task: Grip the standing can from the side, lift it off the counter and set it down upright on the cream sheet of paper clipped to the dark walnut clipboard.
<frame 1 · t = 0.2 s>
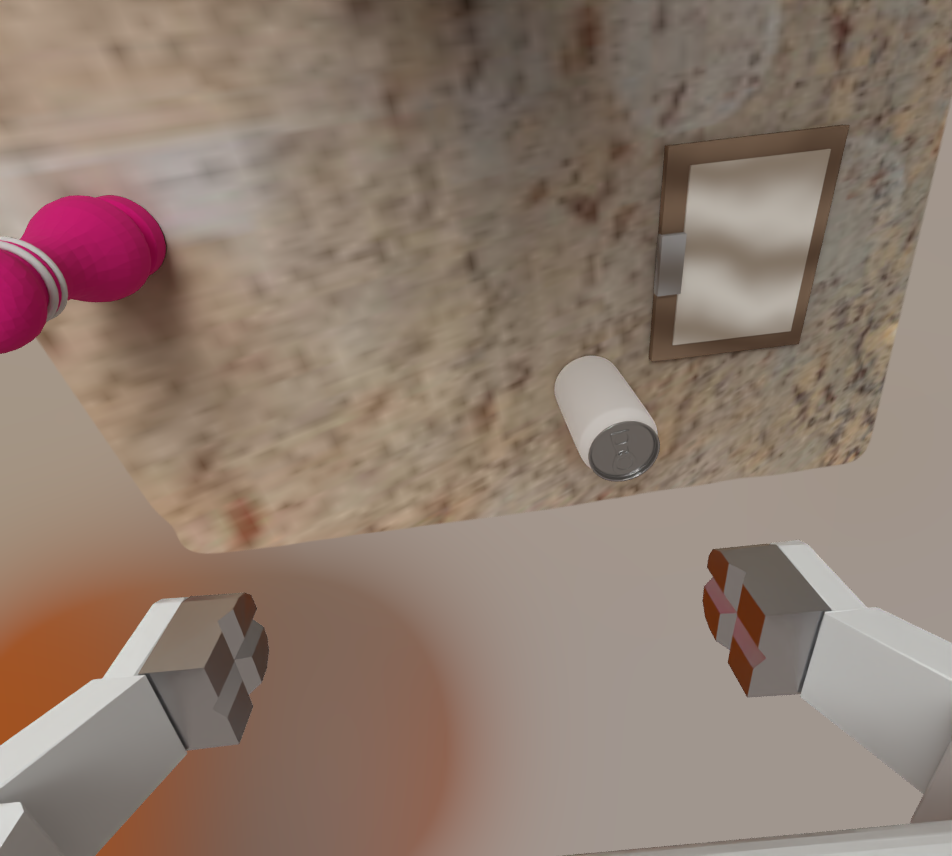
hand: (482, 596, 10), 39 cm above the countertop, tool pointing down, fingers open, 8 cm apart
can: (585, 383, 52), on the countertop
pepper mill: (125, 237, 42), on the countertop
clipboard: (736, 253, 46), on the countertop
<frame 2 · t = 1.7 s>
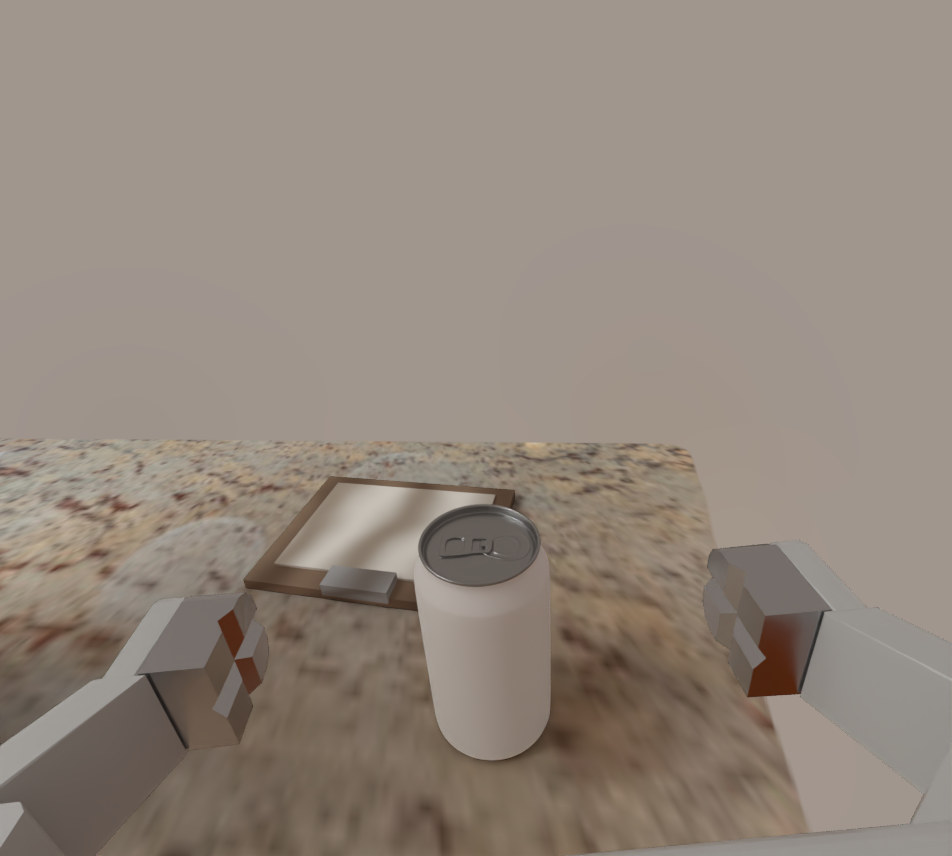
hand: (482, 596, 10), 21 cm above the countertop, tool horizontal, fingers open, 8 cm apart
can: (492, 709, 30), on the countertop
clipboard: (392, 538, 43), on the countertop
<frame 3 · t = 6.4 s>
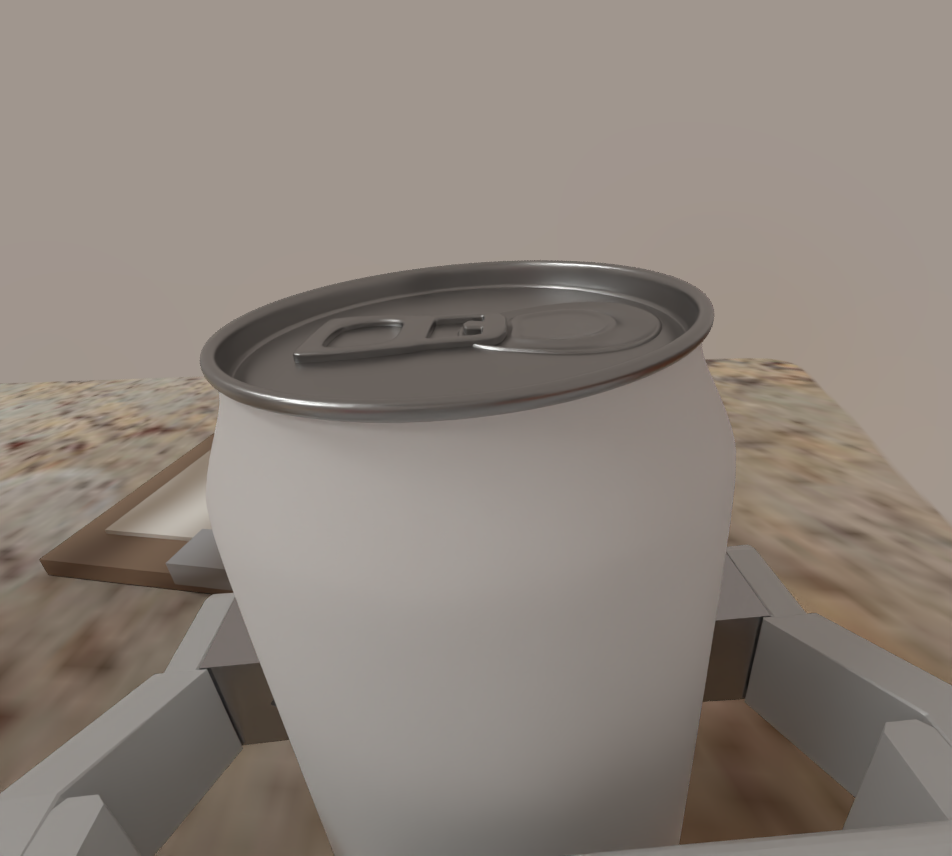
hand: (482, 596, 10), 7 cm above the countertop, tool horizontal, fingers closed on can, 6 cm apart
can: (511, 852, 12), on the countertop, touching gripper
clipboard: (328, 490, 25), on the countertop
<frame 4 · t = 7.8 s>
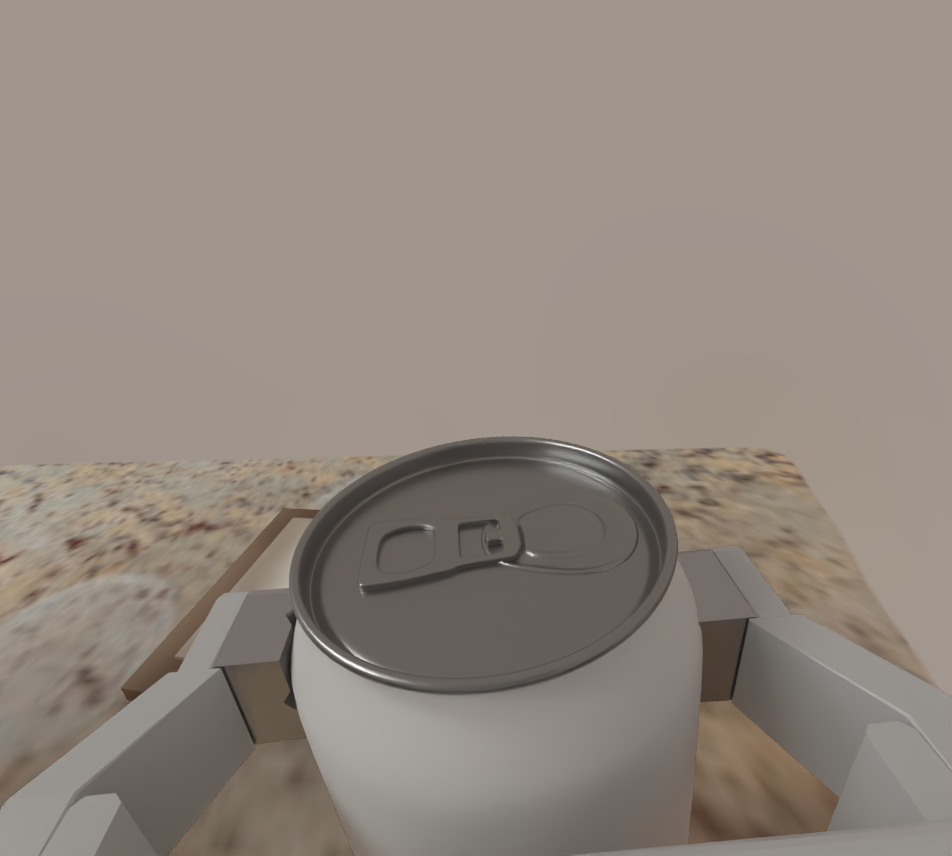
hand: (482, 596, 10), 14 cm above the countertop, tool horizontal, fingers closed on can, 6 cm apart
clipboard: (366, 605, 28), on the countertop
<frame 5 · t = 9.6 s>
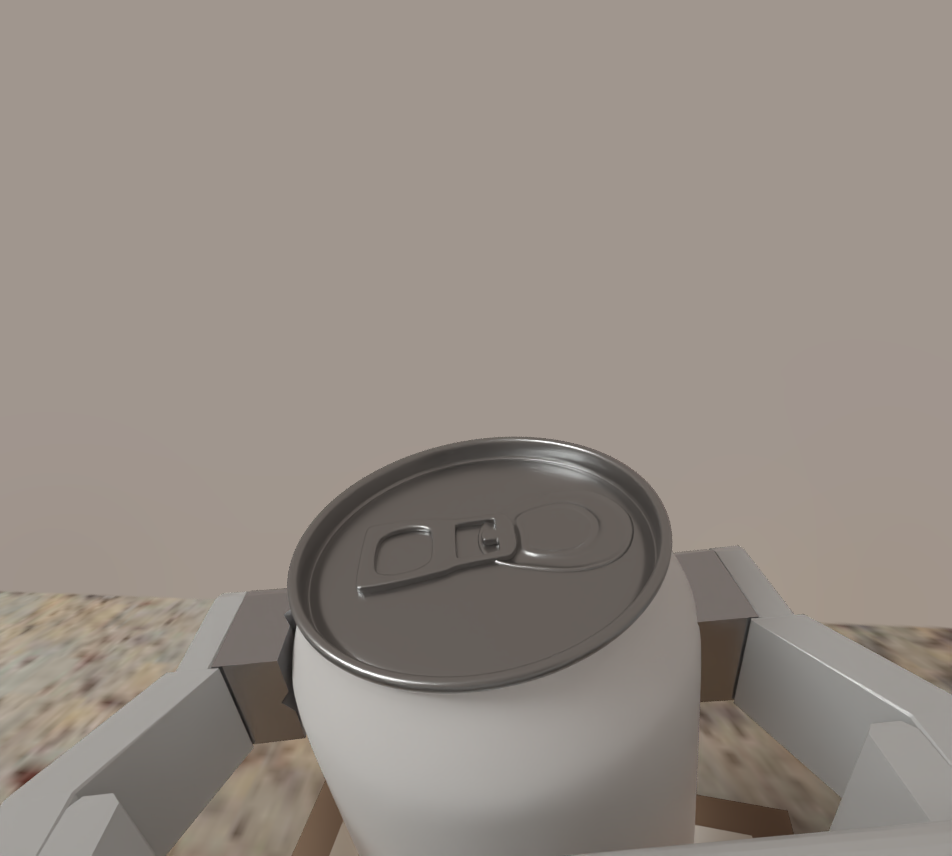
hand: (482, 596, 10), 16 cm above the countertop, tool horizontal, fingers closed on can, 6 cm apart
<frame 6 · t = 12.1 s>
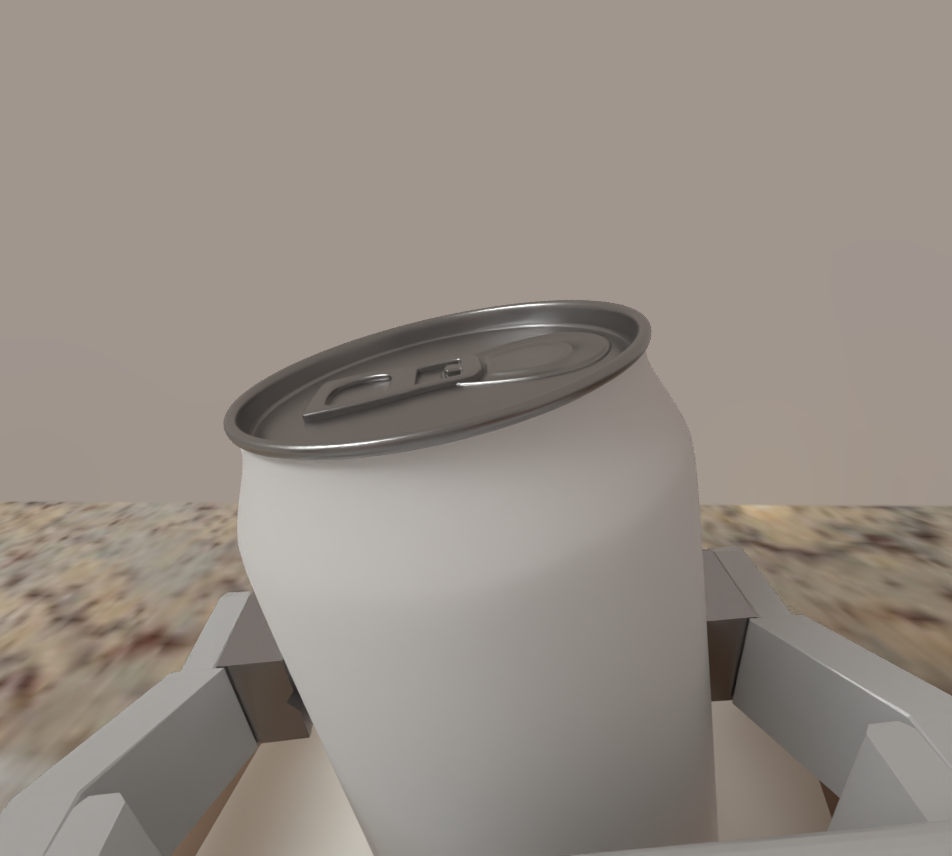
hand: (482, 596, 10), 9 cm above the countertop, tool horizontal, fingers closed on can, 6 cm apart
when the fingers open (9 cm above the countertop, at t = 12.2 s): can stays where it is, resting on clipboard.
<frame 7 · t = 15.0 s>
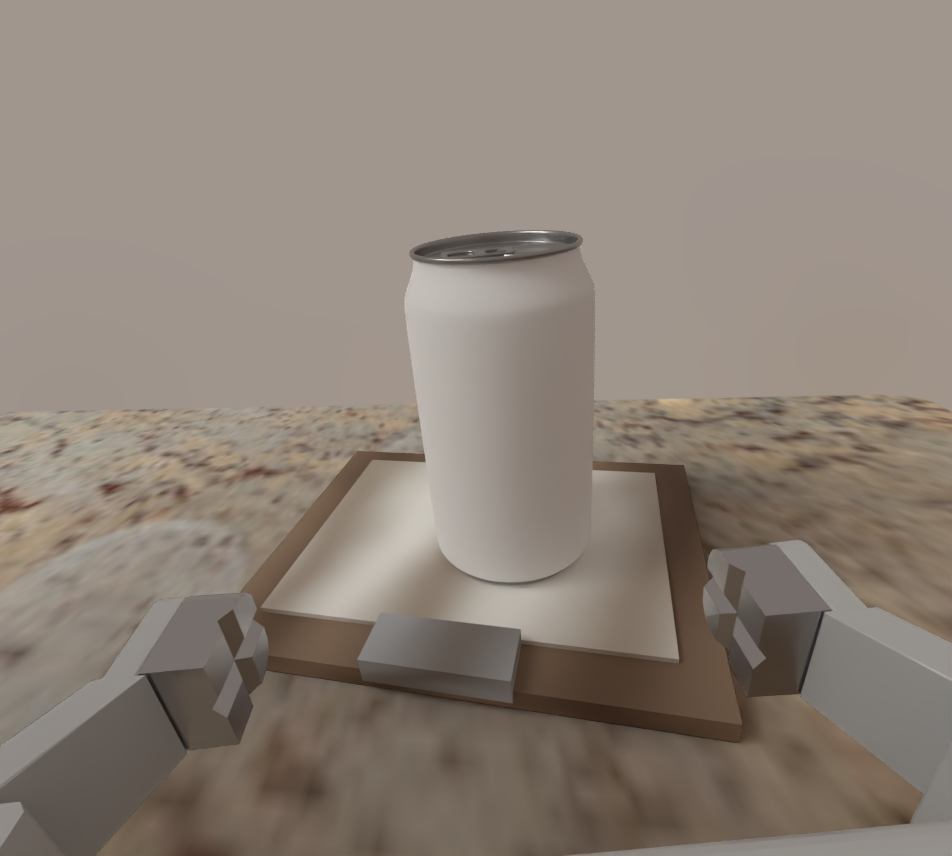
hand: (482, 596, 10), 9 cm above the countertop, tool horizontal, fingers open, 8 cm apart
can: (513, 539, 23), point 1 cm above the countertop, touching clipboard
clipboard: (483, 554, 23), on the countertop
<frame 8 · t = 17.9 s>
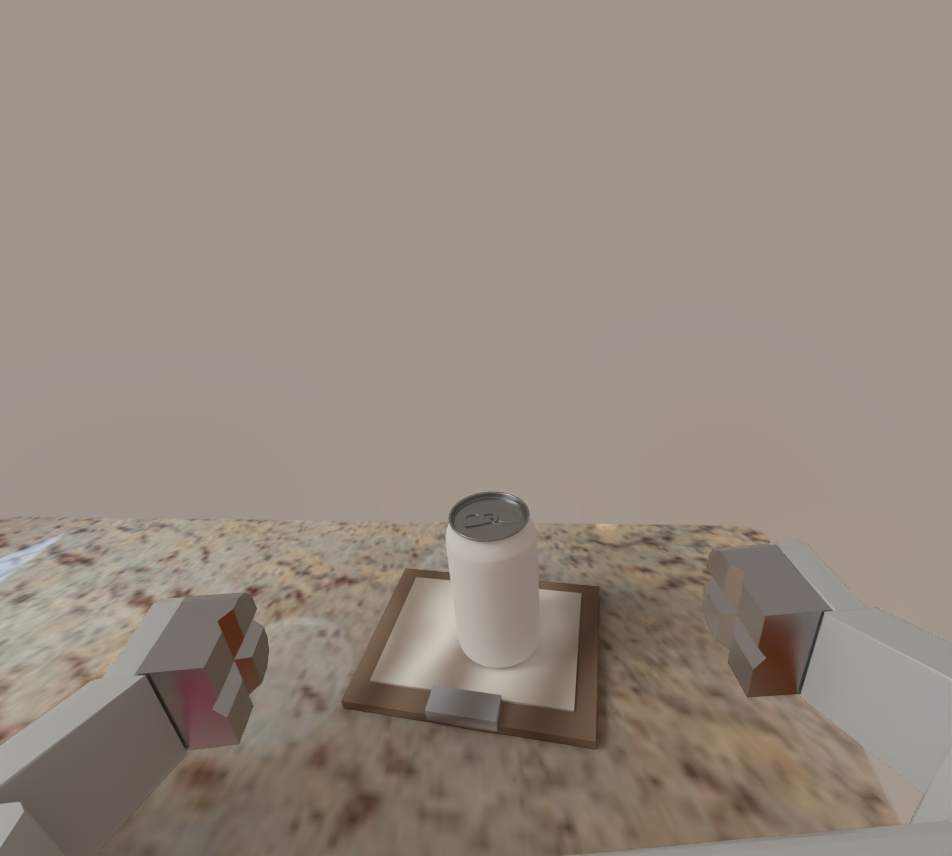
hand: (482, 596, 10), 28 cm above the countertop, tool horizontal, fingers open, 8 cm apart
can: (499, 638, 42), point 1 cm above the countertop, touching clipboard
clipboard: (483, 645, 43), on the countertop
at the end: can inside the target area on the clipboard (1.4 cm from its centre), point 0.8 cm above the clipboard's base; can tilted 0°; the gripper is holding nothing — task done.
